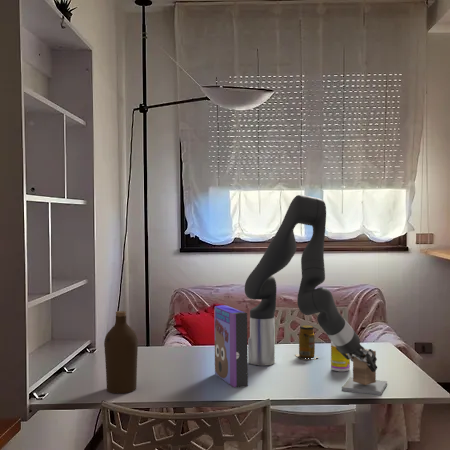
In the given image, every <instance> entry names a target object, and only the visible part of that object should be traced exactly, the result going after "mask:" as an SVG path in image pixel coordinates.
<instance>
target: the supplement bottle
mask: <svg viewBox="0 0 450 450" xmlns="http://www.w3.org/2000/svg"><path fill="white" fill-rule="evenodd" d="M346 355H347V354H346ZM350 368H351V360H350V359H349V360H348V359H346V358H345V357H344V356H343V355H342V354H341V353H340V352H339V351H338V350H337V349H336V346H335V345H334V344H333V342H332V341H330V370H332V371H334V372H342V373H343V372H349V370H350Z"/></svg>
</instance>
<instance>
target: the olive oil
mask: <svg viewBox="0 0 450 450" xmlns="http://www.w3.org/2000/svg"><path fill="white" fill-rule="evenodd" d="M103 343H104V345H103V346H104V358H105V375H106V376H105V378H106V391H107V392H108V393H112V394H126V393H127V394H129V393H132V392H134V391H136V390H137V387H138V386H137V383H138V382H137V381H138V380H137V375H138V350H139V349H138V348H139V346H138V345H139V338H138V336H137V334H136V332H135V330H134V329H132V327H131V326H130V325H129V324H128V323H127V311H125V310H118V311H115V323H114V325H113V326H112V327H111V329H110V330H108V331H107V333H106V334H105V337H104V341H103Z"/></svg>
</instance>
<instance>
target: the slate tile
mask: <svg viewBox="0 0 450 450" xmlns="http://www.w3.org/2000/svg"><path fill="white" fill-rule="evenodd" d="M387 385H388V381H386V380H380V379H379V380H377V379H376V382H375V383H371V384H367V385H363V384H360V383H357V382H354V381H353V376H352V377H351V376H350V377H349V378H348V379H347V380H346V381H345V383H344V384H343V385H342V387H341V391H342V392H343V391H345V392H353V393H361V394H362V393H363V394H369V395H379V396H381V395H382V394H383V392H384V391H385V388H386V387H387Z"/></svg>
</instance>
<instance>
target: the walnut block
mask: <svg viewBox="0 0 450 450" xmlns="http://www.w3.org/2000/svg"><path fill="white" fill-rule="evenodd" d="M364 349H365V350H367V351H369V349H370V348H369V349H368V348H365V347H364ZM371 350H372V349H371ZM372 351H373V352H374V354H375V356H376V357H377V351H376V350H374V349H373V350H372ZM363 356H365V354H364V355H363ZM363 356H362V358H363ZM366 361H367V362H368V360H367V359H366ZM376 363H377V361H376V362H375V364H376ZM352 364H353V365H352V378H353V381H354V382H357V383H360V384H363V385H367V384H371V383H375V382H376V380H377V378H376V377H377V375H376V374H377V373H376V371H377V370H376V371H375V372H372V371H371V369H370V368H369V367H368V366H367V365H366V363H364V362H361V361H360V360H359V359H357V358H356V357H354V359H353V362H352ZM376 365H377V364H376Z"/></svg>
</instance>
